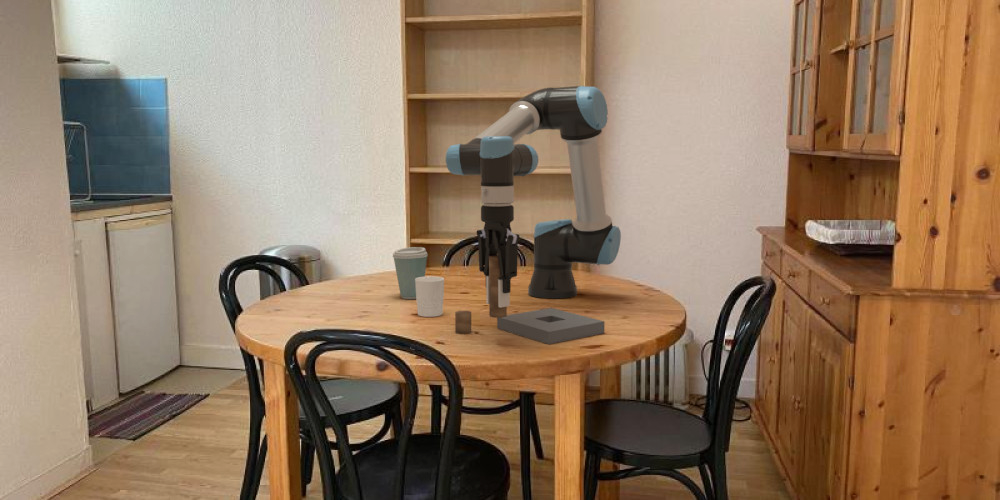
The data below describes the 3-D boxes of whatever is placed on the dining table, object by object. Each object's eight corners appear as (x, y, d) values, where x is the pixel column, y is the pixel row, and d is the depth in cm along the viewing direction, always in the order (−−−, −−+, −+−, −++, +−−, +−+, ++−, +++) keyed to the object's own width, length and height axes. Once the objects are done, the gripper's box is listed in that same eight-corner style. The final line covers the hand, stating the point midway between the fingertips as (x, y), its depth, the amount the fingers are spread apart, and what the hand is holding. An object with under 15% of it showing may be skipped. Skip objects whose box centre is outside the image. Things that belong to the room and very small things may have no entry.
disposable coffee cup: (413, 302, 227) (413, 252, 225) (385, 298, 232) (384, 249, 230) (435, 296, 236) (434, 248, 234) (407, 293, 241) (407, 245, 239)
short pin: (452, 331, 191) (452, 312, 190) (465, 329, 193) (465, 309, 193) (461, 334, 188) (461, 314, 187) (474, 332, 190) (474, 312, 189)
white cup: (422, 318, 205) (421, 282, 204) (411, 313, 212) (410, 277, 211) (449, 315, 209) (448, 279, 207) (437, 310, 216) (437, 275, 214)
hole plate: (497, 328, 194) (497, 316, 194) (551, 318, 205) (551, 307, 205) (548, 344, 178) (548, 331, 178) (604, 333, 189) (604, 321, 189)
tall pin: (486, 315, 179) (485, 256, 177) (499, 312, 182) (499, 254, 180) (496, 318, 176) (495, 258, 174) (510, 316, 178) (509, 256, 176)
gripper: (462, 202, 180) (464, 300, 183) (506, 208, 166) (507, 313, 170) (488, 201, 184) (489, 296, 187) (533, 205, 171) (533, 308, 174)
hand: (498, 304), depth 179 cm, fingers closed on tall pin, 4 cm apart
